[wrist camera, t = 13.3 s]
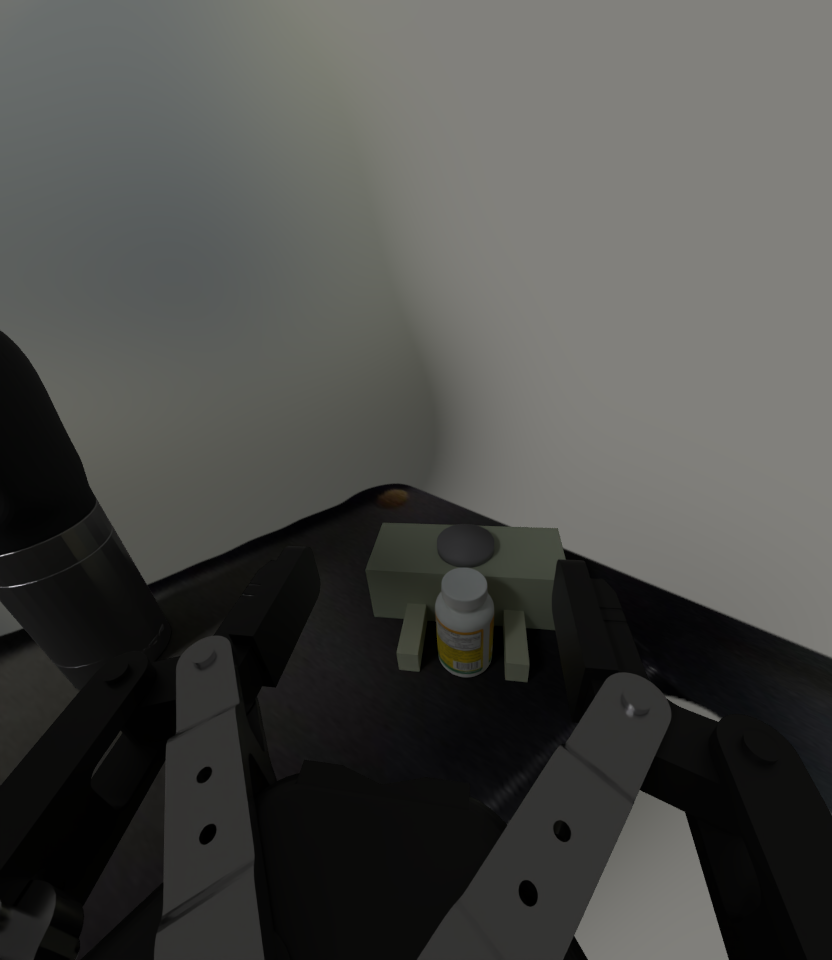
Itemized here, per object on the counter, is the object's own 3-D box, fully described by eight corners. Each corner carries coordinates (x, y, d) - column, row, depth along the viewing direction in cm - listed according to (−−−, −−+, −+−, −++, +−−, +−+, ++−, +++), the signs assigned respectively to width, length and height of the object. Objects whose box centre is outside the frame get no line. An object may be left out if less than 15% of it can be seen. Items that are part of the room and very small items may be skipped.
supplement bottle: (465, 691, 35) (464, 618, 31) (426, 652, 39) (420, 582, 34) (504, 655, 38) (508, 583, 33) (464, 622, 42) (463, 553, 37)
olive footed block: (359, 665, 38) (345, 609, 34) (389, 566, 50) (381, 515, 46) (573, 686, 35) (586, 626, 31) (551, 574, 47) (558, 521, 43)
